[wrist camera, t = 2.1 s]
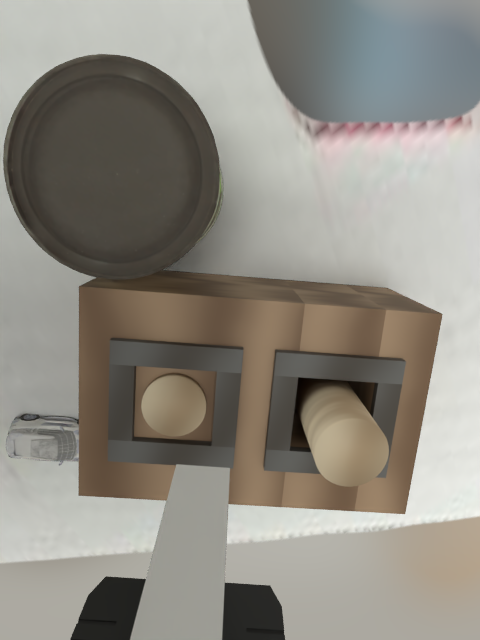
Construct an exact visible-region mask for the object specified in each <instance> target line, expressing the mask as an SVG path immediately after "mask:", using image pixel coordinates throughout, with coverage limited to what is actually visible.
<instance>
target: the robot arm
mask: <svg viewBox="0 0 480 640" xmlns="http://www.w3.org/2000/svg"><path fill="white" fill-rule="evenodd" d="M229 479H230V468H223V467H209V466H194V465H180V464H176V468H175V471H174V475H173V479H172V483H171V487H170V490H169V494H168V498H167V502H166V505H165V509H164V513H163V517H162V520H161V524H160V528H159V532H158V536H157V539H156V543H155V547H154V551H153V555H152V558H151V562H150V566H149V570H148V573H147V577H146V579H135V578H119V577H105V578H104V579H103V580H102V581H101V582H100V583H99V585H98V586H97V587H96V588H95V589H94V590H93V591H92V592H91V593H90V594H89V595H88V597H87V600H86V602H85V605H84V607H83V610H82V612H81V615H80V617H79V621H78V624H76V627H75V629H74V632H73V634H72V637H71V640H285V635H284V625H283V615H282V606H281V604H280V603H279V601H278V599H277V597H276V596H275V594H274V592H273V590H272V588H271V587H270V586H266V585H250V584H236V583H225V565H226V544H227V522H228V501H229Z"/></svg>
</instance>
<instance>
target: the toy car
mask: <svg viewBox="0 0 480 640" xmlns="http://www.w3.org/2000/svg"><path fill="white" fill-rule="evenodd" d="M6 450H7V453H8V455H9V457H11V458H25V459H35V460H44V461H60V463H59V465H61V464H62V463H63V461H79V420H78V421H76V420H75V419H73V418H66V417H41V419H39V415H30V414H25V415H23V416H22V417H21V418H19V419H17V417H16V418H15V419H14V421H13V422H12V425H11V427H10V429H9V432H8V436H7V440H6Z"/></svg>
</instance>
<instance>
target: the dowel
mask: <svg viewBox="0 0 480 640" xmlns="http://www.w3.org/2000/svg"><path fill="white" fill-rule="evenodd" d="M295 406H296V409H297V412H298V414H299V417H300V420H301V423H302V426H303V429H304V432H305V435H306V437H307V440H308V443H309V446H310V449H311V452H312V455H313V458H314V460H315V463H316V466H317V468H318V470H319V472H320V473H321V474H322V476H323V477H324V478H325V479H327V480H328V481H330V482H332V483H334V484H336V485H340V486H345V487H353V486H359V485H362V484H365V483H367V482H369V481H371V480H372V479H374V478H375V477H376V476H378V474H379V473H380V472H381V471H382V470H383V468H384V467H385V465H386V462H387V460H388V455H389V446H388V441H387V439H386V437H385V435H384V433H383V432H382V430H381V429H380V428H379V426H378V425H377V423H376V422H375V420H374V419H373V418H372V416H371V415H370V413H369V412H368V411H367V409H366V408H365V406H364V405H363V403H362V402H361V401H360V399H359V398H358V396H357V395H356V394H355V392H354V391H353V389H352V388H351V386H350V385H349V384H348V382H347V381H345V380H330V379H316V378H301V377H298V384H297V392H296V401H295Z"/></svg>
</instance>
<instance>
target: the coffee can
mask: <svg viewBox="0 0 480 640" xmlns="http://www.w3.org/2000/svg"><path fill="white" fill-rule="evenodd" d="M3 163H4V176H5V182H6V186H7V191H8V194H9V197H10V201H11V203H12V205H13V208H14V210H15V212H16V214H17V216H18V218H19V220H20V222H21V224H22V225H23V227H24V228H25V230H26V231H27V232H28V234H29V235H30V236H31V237H32V238H33V240H34V241H35V242H36V243H37V244H38V245H39V246H40V247H41V248H42V249H43V250H44V251H45V252H46V253H48V254H49V255H50V256H52V257H53V258H54V259H56V260H57V261H59V262H60V263H62V264H63V265H65V266H67V267H69V268H71V269H73V270H76V271H78V272H81V273H84V274H87V275H90V276H94V277H99V278H105V279H133V278H139V277H143V276H148V275H150V274H153V273H156V272H158V271H160V270H163V269H164V268H166V267H168V266H170V265H171V264H173V263H174V262H176V261H177V260H179V259H180V258H181V257H183V256H184V255H185V254H186V253H187V252H188V251H189V250H190V249H191V248H192V247H193V246H194V245H195V244H196V243H197V242H198V241H200V240H201V239H202V238H203V237H204V236H205V235H206V234H207V233H208V231H209V230H210V229H211V227H212V226H213V224H214V223H215V221H216V219H217V216H218V214H219V212H220V209H221V205H222V198H223V181H222V175H221V170H220V167H219V157H218V152H217V148H216V144H215V140H214V136H213V134H212V131H211V129H210V126H209V124H208V122H207V120H206V118H205V116H204V115H203V113H202V111H201V110H200V108H199V106H198V104H197V103H196V102H195V101H194V99H193V98H192V97H191V96H190V95H189V94H188V92H187V91H186V90H185V89H184V88H183V87H182V86H181V85H180V84H179V83H178V82H176V81H175V80H174V79H173V78H171V77H170V76H169V75H167V74H166V73H164V72H162V71H161V70H159V69H158V68H156V67H154V66H152V65H150V64H148V63H146V62H143V61H140V60H137V59H134V58H130V57H126V56H120V55H108V54H98V55H89V56H84V57H79V58H76V59H73V60H70V61H67V62H65V63H63V64H60V65H58V66H56V67H55V68H53V69H51V70H50V71H48V72H47V73H46V74H44V75H43V76H42V77H41V78H39V79H38V80H37V81H36V82H35V83H34V84H33V85H32V86H31V87H30V88H29V89H28V90H27V92H26V93H25V94H24V96H23V97H22V99H21V100H20V102H19V103H18V105H17V107H16V109H15V111H14V113H13V115H12V117H11V121H10V123H9V126H8V129H7V134H6V138H5V143H4V157H3Z"/></svg>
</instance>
